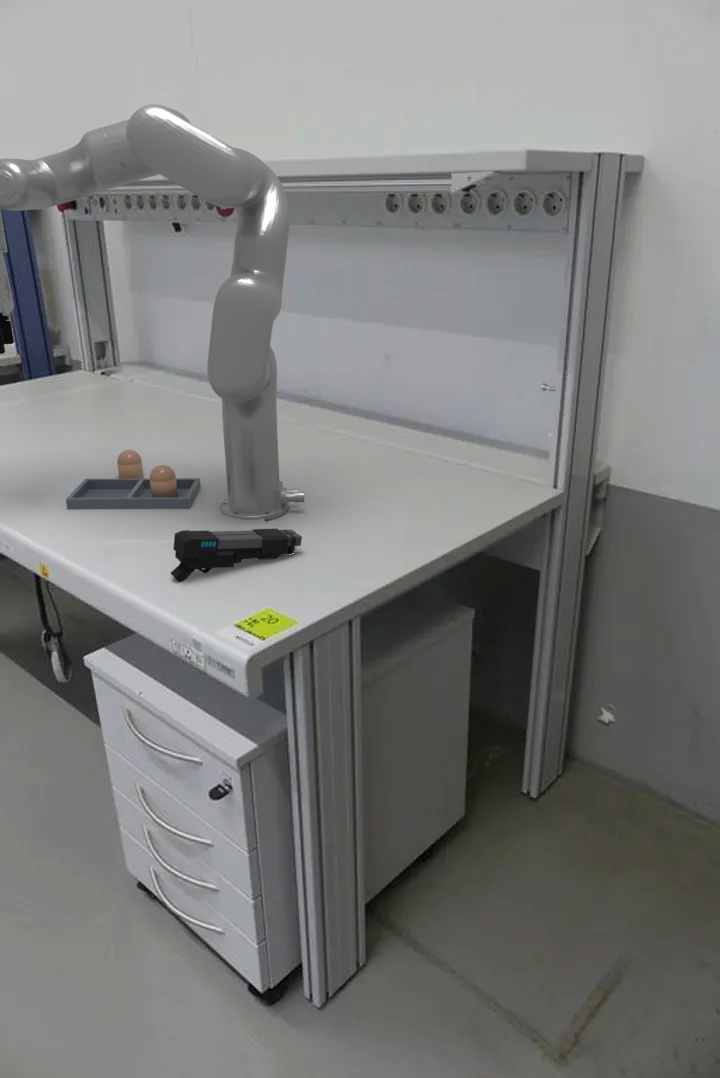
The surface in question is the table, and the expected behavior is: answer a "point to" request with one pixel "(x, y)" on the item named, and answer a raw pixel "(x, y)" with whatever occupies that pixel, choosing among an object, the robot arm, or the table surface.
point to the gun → (228, 548)
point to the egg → (129, 465)
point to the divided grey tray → (130, 494)
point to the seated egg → (163, 482)
